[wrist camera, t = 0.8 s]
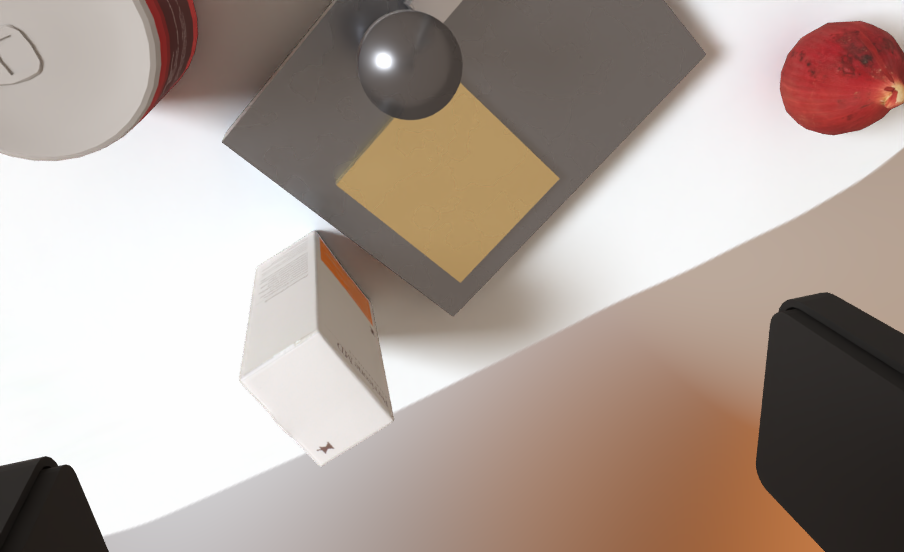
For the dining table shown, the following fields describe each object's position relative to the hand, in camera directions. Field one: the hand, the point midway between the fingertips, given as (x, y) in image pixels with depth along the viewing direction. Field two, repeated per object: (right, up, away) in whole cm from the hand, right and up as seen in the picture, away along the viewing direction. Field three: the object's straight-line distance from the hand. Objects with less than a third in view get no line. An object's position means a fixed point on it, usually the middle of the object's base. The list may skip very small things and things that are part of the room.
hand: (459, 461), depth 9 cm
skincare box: (-8, +2, +31) cm, 32 cm away
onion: (+20, +15, +31) cm, 40 cm away
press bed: (+1, +13, +28) cm, 30 cm away
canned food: (-16, +15, +23) cm, 32 cm away
